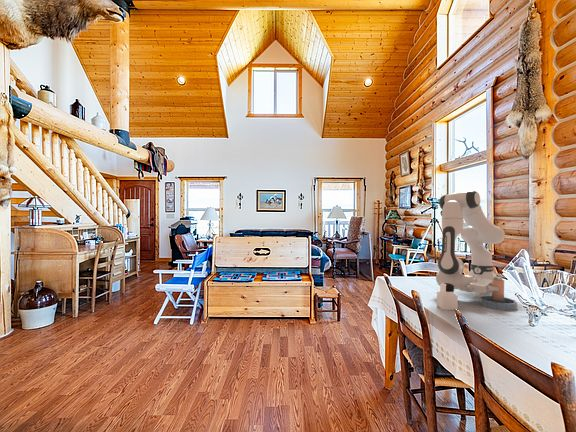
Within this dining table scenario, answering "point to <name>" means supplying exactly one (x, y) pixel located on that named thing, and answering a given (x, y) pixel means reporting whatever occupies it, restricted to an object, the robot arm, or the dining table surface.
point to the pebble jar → (499, 294)
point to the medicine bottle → (447, 297)
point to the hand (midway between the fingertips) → (500, 288)
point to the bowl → (498, 303)
